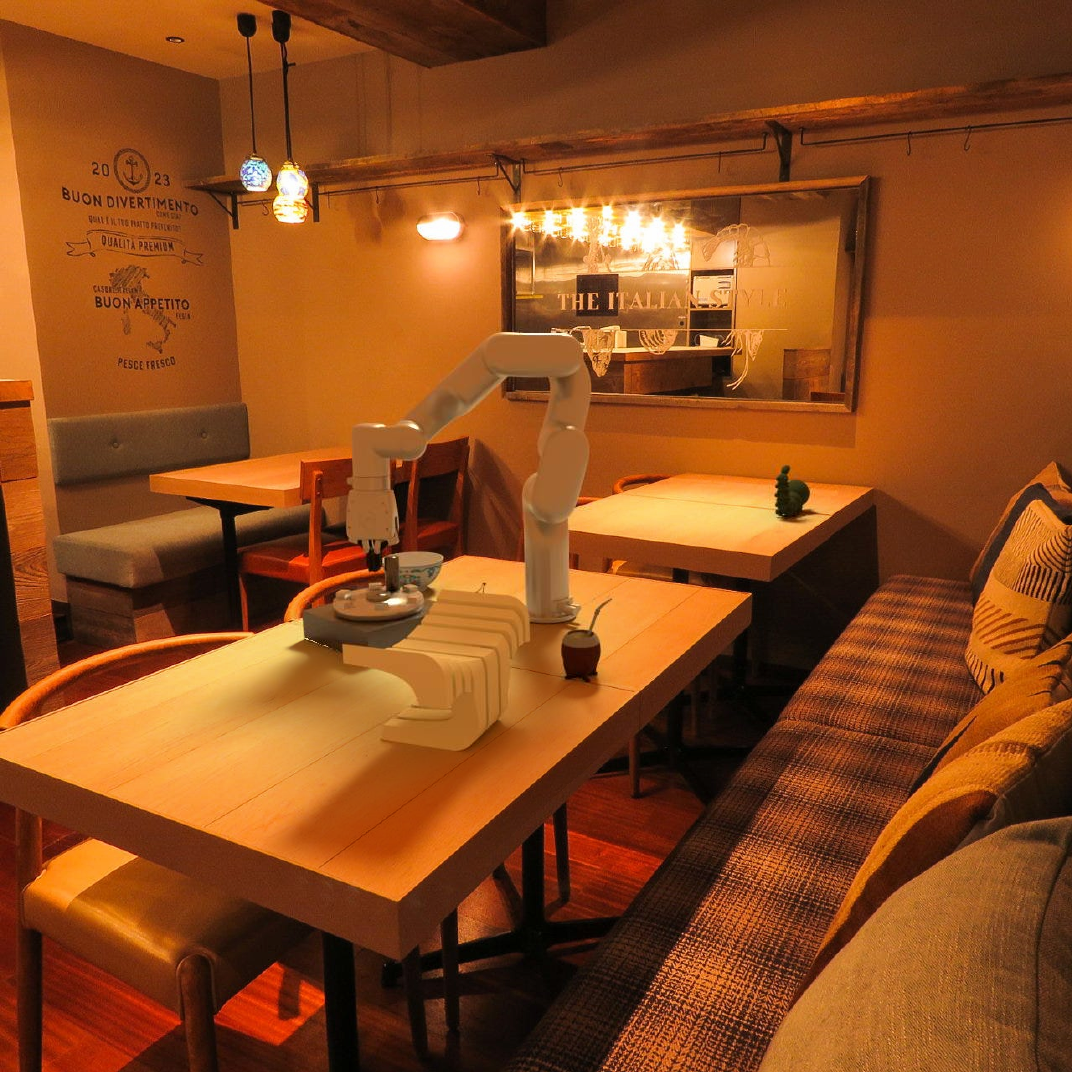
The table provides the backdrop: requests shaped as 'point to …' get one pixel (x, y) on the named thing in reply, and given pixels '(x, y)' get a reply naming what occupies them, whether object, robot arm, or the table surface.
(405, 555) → the chinaware
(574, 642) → the mate gourd
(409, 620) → the housing
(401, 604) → the round turntable with post
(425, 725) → the slatted curved stool
